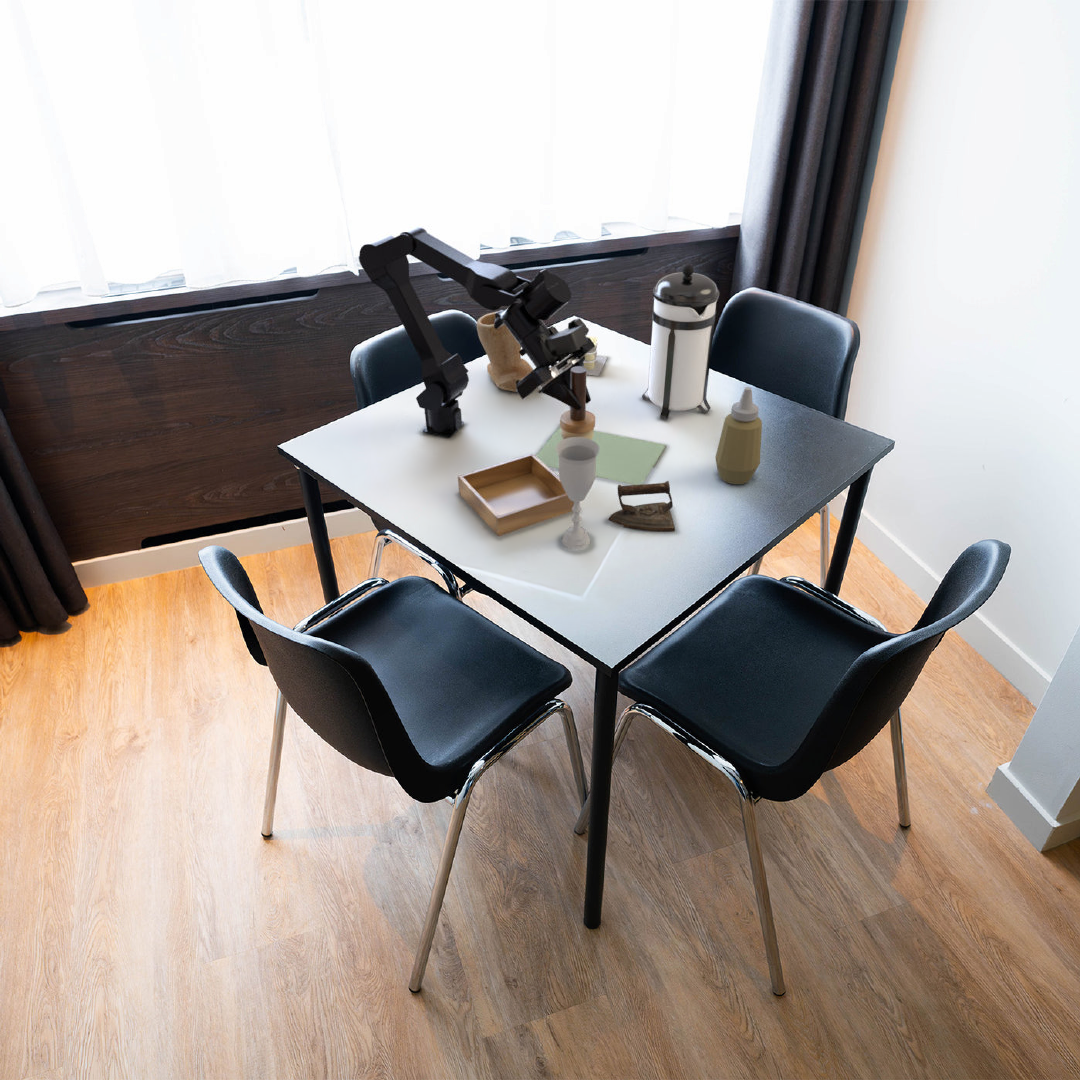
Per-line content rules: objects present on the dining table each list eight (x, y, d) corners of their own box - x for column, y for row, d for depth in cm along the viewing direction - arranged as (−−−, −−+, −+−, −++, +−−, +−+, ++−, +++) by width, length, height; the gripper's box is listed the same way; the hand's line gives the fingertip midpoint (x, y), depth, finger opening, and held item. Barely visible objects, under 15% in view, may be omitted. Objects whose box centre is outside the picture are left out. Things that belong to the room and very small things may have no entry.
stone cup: (475, 369, 194) (471, 307, 185) (525, 363, 197) (523, 301, 188) (489, 399, 182) (486, 333, 174) (542, 391, 185) (541, 326, 176)
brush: (561, 444, 152) (562, 378, 145) (558, 427, 157) (558, 362, 150) (596, 442, 153) (599, 376, 145) (592, 425, 158) (594, 361, 150)
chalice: (553, 530, 143) (553, 438, 132) (593, 528, 144) (596, 435, 133) (558, 556, 137) (558, 462, 127) (599, 554, 138) (602, 459, 127)
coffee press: (724, 398, 182) (742, 258, 164) (693, 429, 171) (709, 283, 153) (651, 379, 189) (661, 244, 171) (617, 408, 178) (624, 267, 160)
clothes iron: (679, 533, 143) (671, 489, 136) (614, 547, 144) (602, 504, 138) (672, 506, 148) (664, 463, 141) (609, 520, 150) (598, 478, 143)
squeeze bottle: (760, 469, 158) (774, 381, 147) (754, 492, 152) (769, 402, 141) (716, 462, 160) (728, 375, 150) (709, 484, 154) (720, 395, 143)
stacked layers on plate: (570, 354, 201) (570, 332, 197) (607, 357, 199) (608, 335, 195) (560, 371, 193) (560, 349, 190) (598, 376, 191) (599, 353, 188)
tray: (459, 494, 152) (457, 475, 150) (533, 471, 159) (532, 453, 156) (498, 538, 142) (497, 518, 139) (576, 511, 148) (576, 492, 145)
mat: (530, 464, 161) (530, 462, 160) (561, 426, 172) (561, 424, 172) (641, 487, 154) (641, 485, 153) (665, 446, 165) (665, 444, 165)
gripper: (529, 327, 137) (586, 405, 138) (587, 292, 149) (639, 364, 151) (491, 362, 145) (546, 435, 147) (549, 325, 157) (599, 393, 159)
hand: (584, 405), depth 151 cm, fingers closed on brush, 3 cm apart
